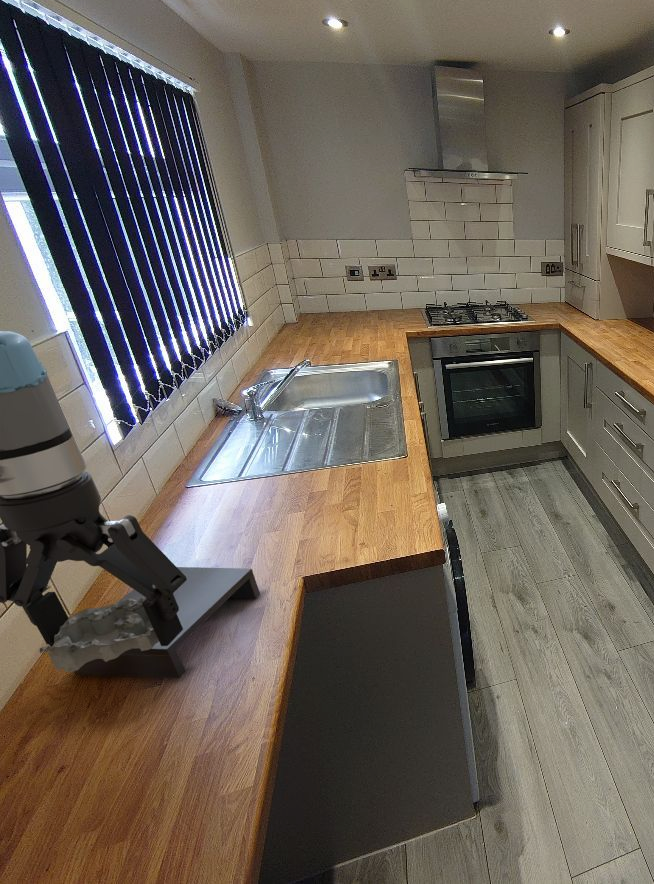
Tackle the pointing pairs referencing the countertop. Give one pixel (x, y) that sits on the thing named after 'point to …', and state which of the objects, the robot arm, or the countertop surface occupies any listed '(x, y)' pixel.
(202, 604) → the shelf
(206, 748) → the countertop surface
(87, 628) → the egg carton
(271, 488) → the countertop surface
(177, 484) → the countertop surface
